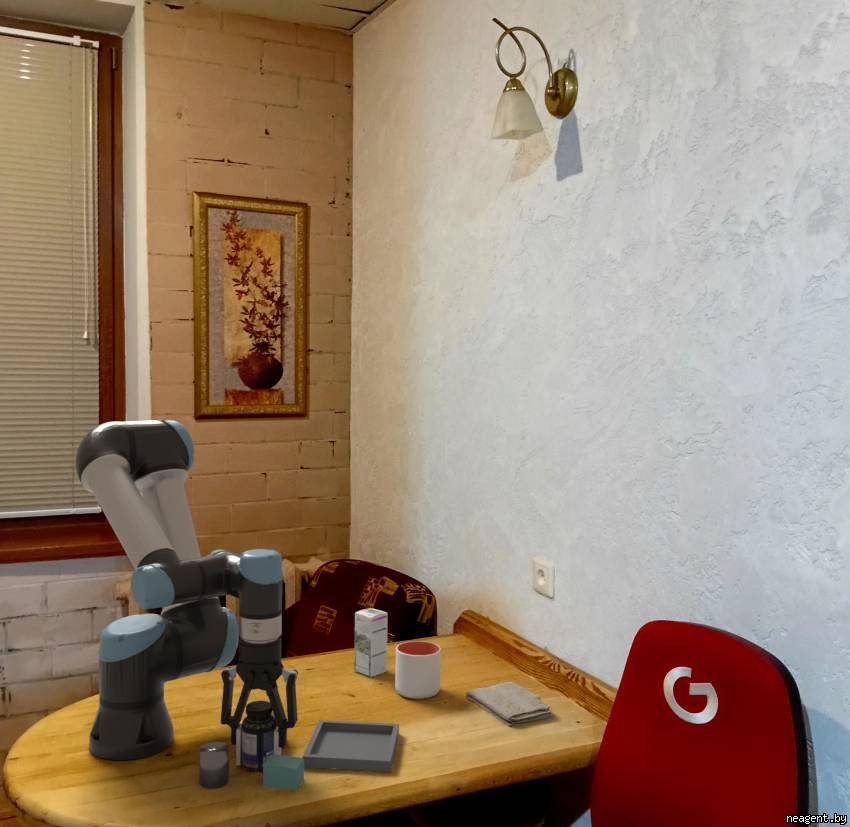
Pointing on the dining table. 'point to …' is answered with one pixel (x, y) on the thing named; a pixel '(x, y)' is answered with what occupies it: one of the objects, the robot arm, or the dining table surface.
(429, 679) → the cup
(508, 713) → the washcloth
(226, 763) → the metal cylinder
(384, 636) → the syrup box
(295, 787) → the teal block
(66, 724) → the dining table surface
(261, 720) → the pill bottle
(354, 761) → the tray
